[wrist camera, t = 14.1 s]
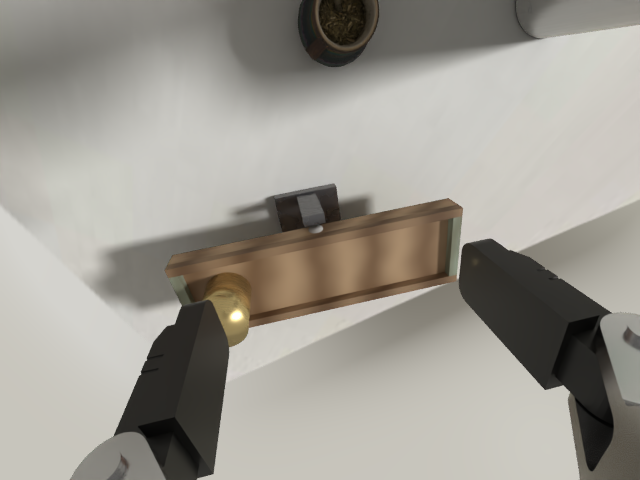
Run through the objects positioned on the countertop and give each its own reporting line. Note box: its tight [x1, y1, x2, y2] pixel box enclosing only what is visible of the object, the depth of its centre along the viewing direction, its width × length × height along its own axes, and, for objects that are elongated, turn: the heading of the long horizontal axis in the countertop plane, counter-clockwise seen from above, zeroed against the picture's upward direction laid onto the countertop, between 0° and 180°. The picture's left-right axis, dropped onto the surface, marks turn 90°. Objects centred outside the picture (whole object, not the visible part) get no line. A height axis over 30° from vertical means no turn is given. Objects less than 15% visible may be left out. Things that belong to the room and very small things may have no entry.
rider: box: [202, 272, 252, 347], centre depth 31 cm, size 5×5×6 cm
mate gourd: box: [298, 0, 379, 67], centre depth 27 cm, size 7×8×10 cm
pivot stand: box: [274, 184, 341, 232], centre depth 39 cm, size 8×14×8 cm, turn 9°
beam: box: [165, 198, 463, 328], centre depth 35 cm, size 32×10×3 cm, turn 99°
